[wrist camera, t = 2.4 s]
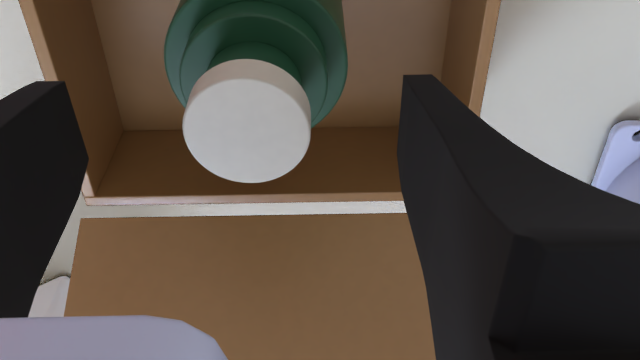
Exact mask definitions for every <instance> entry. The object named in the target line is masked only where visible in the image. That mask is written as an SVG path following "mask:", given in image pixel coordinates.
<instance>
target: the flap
mask: <svg viewBox="0 0 640 360" xmlns="http://www.w3.org/2000/svg"><path fill="white" fill-rule="evenodd" d="M126 315H148V316H155V317H162V318H169V319H176V320H182V321H184V322H186V323H187V324H189V325H191V326H193V327H195V328H197V329H199V330H201V331H202V332H204V333H206V334H208V335H210V336H211V337H213V338H214V339H215V340H216V342H217V343H218V345H219V346H220V348H221V350H222V351H223V353H224V354H225V356H226V357H227V359H228V360H436V356H435V349H434V341H433V334H432V326H431V319H430V312H429V305H428V299H427V292H426V285H425V281H424V276H423V271H422V267H421V263H420V260H419V256H418V252H417V248H416V245H415V241H414V237H413V234H412V230H411V226H410V222H409V219H408V215H407V213H376V214H314V215H252V216H190V217H128V218H81V220H80V226H79V231H78V237H77V243H76V249H75V254H74V260H73V266H72V271H71V277H70V283H69V288H68V294H67V300H66V306H65V311H64V317H75V316H126Z"/></svg>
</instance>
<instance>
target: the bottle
mask: <svg viewBox="0 0 640 360" xmlns="http://www.w3.org/2000/svg"><path fill="white" fill-rule="evenodd" d="M164 64H165V70H166V74H167V78H168V81H169V83H170V85H171V88H172V90H173V92H174V93H175V95H176V97H177V99H178V100H179V101H180V103H181V104H182V105H183V107H184V108H185V112H184V116H183V124H182V128H183V135H184V139H185V142H186V144H187V147H188V149H189V150H190V152H191V154H192V155H193V156H194V158H195V159H196V160H197V161H198V162H199V163H200V164H201V165H202V166H203V167H205V168H206V169H207V170H209V171H210V172H212V173H214V174H216V175H218V176H220V177H222V178H225V179H228V180H231V181H236V182H242V183H260V182H265V181H270V180H273V179H276V178H278V177H281V176H283V175H284V174H286V173H288V172H289V171H291V170H292V169H293V168H294V167H295V166H296V165H297V164H298V163H299V162H300V161H301V160H302V158H303V157H304V155H305V153H306V152H307V149H308V147H309V143H310V139H311V128H313V127H314V126H315V125H317V124H318V123H319V122H321V121H322V120H323V119H324V118H325V117H326V116H327V115H328V114H329V113H330V111H331V110H332V109H333V108H334V106H335V105H336V103H337V102H338V100H339V98H340V96H341V94H342V92H343V89H344V87H345V83H346V79H347V72H348V54H347V45H346V36H345V26H344V17H343V8H342V0H180V2H179V4H178V7H177V9H176V11H175V14H174V16H173V18H172V21H171V23H170V25H169V28H168V31H167V34H166V38H165V44H164Z"/></svg>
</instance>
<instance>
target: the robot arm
mask: <svg viewBox="0 0 640 360" xmlns="http://www.w3.org/2000/svg"><path fill="white" fill-rule="evenodd" d="M637 131H640V120H626V121H621V122H619V123H617V124H616V125H614V126H613V127H612V129H611V131H610V133H609V136H608V139H607V141H606V144H605V147H604V150H603V153H602V156H601V159H600V161H599V164H598V167H597V170H596V173H595V176H594V179H593V181H592V184H591V185H589V184H587V183H584V182H582V181H580V180H578V179H576V178H574V177H572V176H570V175H568V174H566V173H564V172H562V171H560V170H558V169H556V168H554V167H552V166H550V165H548V164H546V163H545V162H543V161H541V160H539V159H538V158H536V157H535V156H533V155H531V154H530V153H528V152H526V151H525V150H523V149H521V148H520V147H518V146H517V145H515V144H514V143H512V142H511V141H509V140H508V139H507V138H505V137H504V136H503V135H501V134H500V133H499V132H497V131H496V130H495V129H493V128H492V127H491V126H489V125H488V124H487V123H486V122H484V121H483V120H482V119H481V118H480V117H478V116H477V115H476V114H475V113H474V112H473V111H471V110H470V109H469V108H468V107H467V106H466V105H465V104H464V103H462V102H461V101H460V100H459V99H458V98H457V97H456V96H455V95H454V94H453V93H452V92H451V91H450V90H448V89H447V88H446V87H445V86H444V85H443V84H442V83H441V82H440V81H439V80H438V79H437V78H436V77H435V76H433V75H432V74H421V75H403V84H402V96H401V108H400V120H399V132H398V144H397V160H398V169H399V177H400V185H401V191H402V195H403V199H404V203H405V207H406V211H407V215H408V219H409V222H410V226H411V230H412V234H413V237H414V241H415V245H416V248H417V252H418V256H419V260H420V263H421V267H422V271H423V276H424V281H425V285H426V292H427V299H428V305H429V312H430V319H431V326H432V334H433V341H434V349H435V356H436V360H640V133H639V134H637V135H634V136H633V134H634V133H635V132H637ZM88 161H89V157H88V154H87V150H86V147H85V144H84V141H83V138H82V134H81V131H80V128H79V125H78V122H77V118H76V115H75V112H74V109H73V106H72V102H71V99H70V96H69V93H68V90H67V86H66V83H65V81H36V82H34V83H31V84H29V85H27V86H25V87H23V88H21V89H19V90H17V91H15V92H13V93H12V94H10V95H8V96H6V97H5V98H3V99H1V100H0V360H228V359H227V357H226V356H225V354H224V353H223V351H222V350H221V348H220V346H219V345H218V343H217V342H216V340H215V339H214V338H213V337H211V336H210V335H208V334H206V333H204V332H202V331H201V330H199V329H197V328H195V327H193V326H191V325H189V324H187V323H186V322H184V321H182V320H176V319H169V318H162V317H155V316H148V315H126V316H75V317H28V315H29V312H30V309H31V306H32V303H33V300H34V297H35V294H36V291H37V289H38V286H39V284H40V281H41V279H42V276H43V274H44V272H45V270H46V268H47V266H48V263H49V261H50V259H51V257H52V255H53V253H54V250H55V248H56V246H57V244H58V242H59V240H60V238H61V235H62V233H63V231H64V229H65V227H66V225H67V222H68V220H69V218H70V216H71V213H72V211H73V209H74V207H75V205H76V202H77V200H78V198H79V195H80V191H81V188H82V184H83V181H84V177H85V173H86V169H87V165H88Z"/></svg>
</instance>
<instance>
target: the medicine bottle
mask: <svg viewBox="0 0 640 360" xmlns="http://www.w3.org/2000/svg"><path fill="white" fill-rule="evenodd" d="M69 283H70V278H69V277H67V276H61V277H58V278H56V279H54V280H52V281H49V282H47V283H45V284H43V285H41V286H38V289H37V291H36V294H35V297H34V300H33V303H32V306H31V309H30V312H29V315H28V317H64V311H65V306H66V300H67V294H68V288H69Z"/></svg>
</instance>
